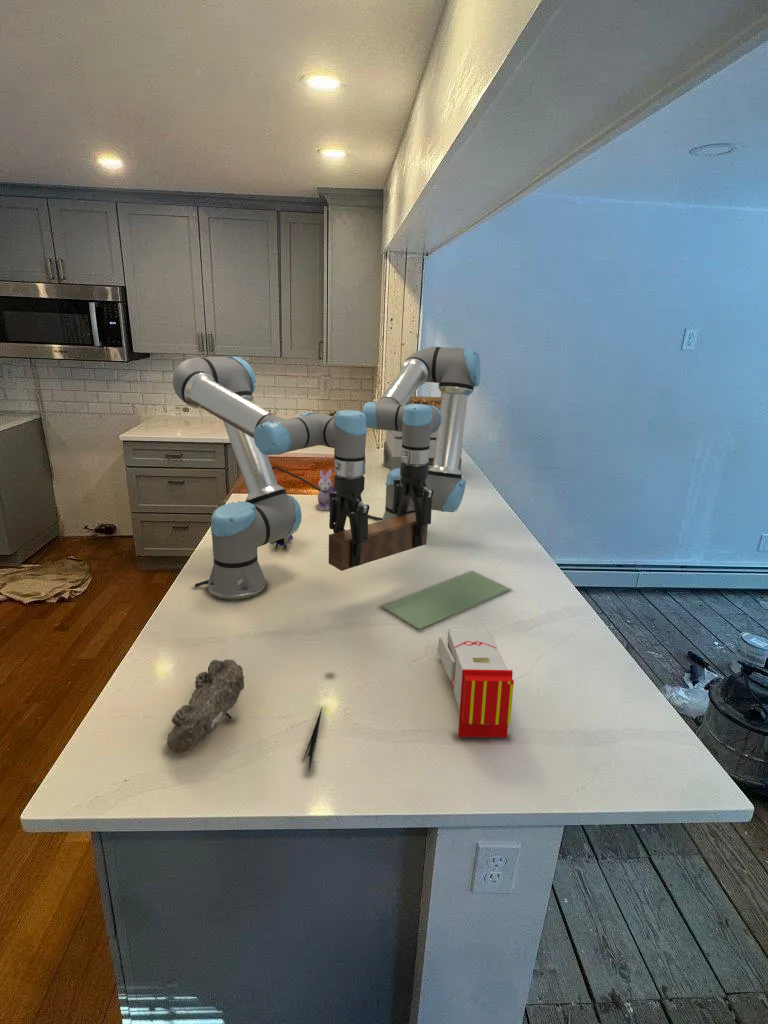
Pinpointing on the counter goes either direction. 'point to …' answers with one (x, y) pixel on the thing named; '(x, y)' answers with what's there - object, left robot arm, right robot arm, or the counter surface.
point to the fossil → (206, 705)
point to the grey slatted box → (395, 438)
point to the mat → (444, 600)
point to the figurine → (325, 490)
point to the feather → (313, 740)
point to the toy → (478, 682)
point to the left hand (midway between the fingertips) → (347, 560)
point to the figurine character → (282, 541)
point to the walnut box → (375, 541)
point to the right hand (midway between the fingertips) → (409, 542)
